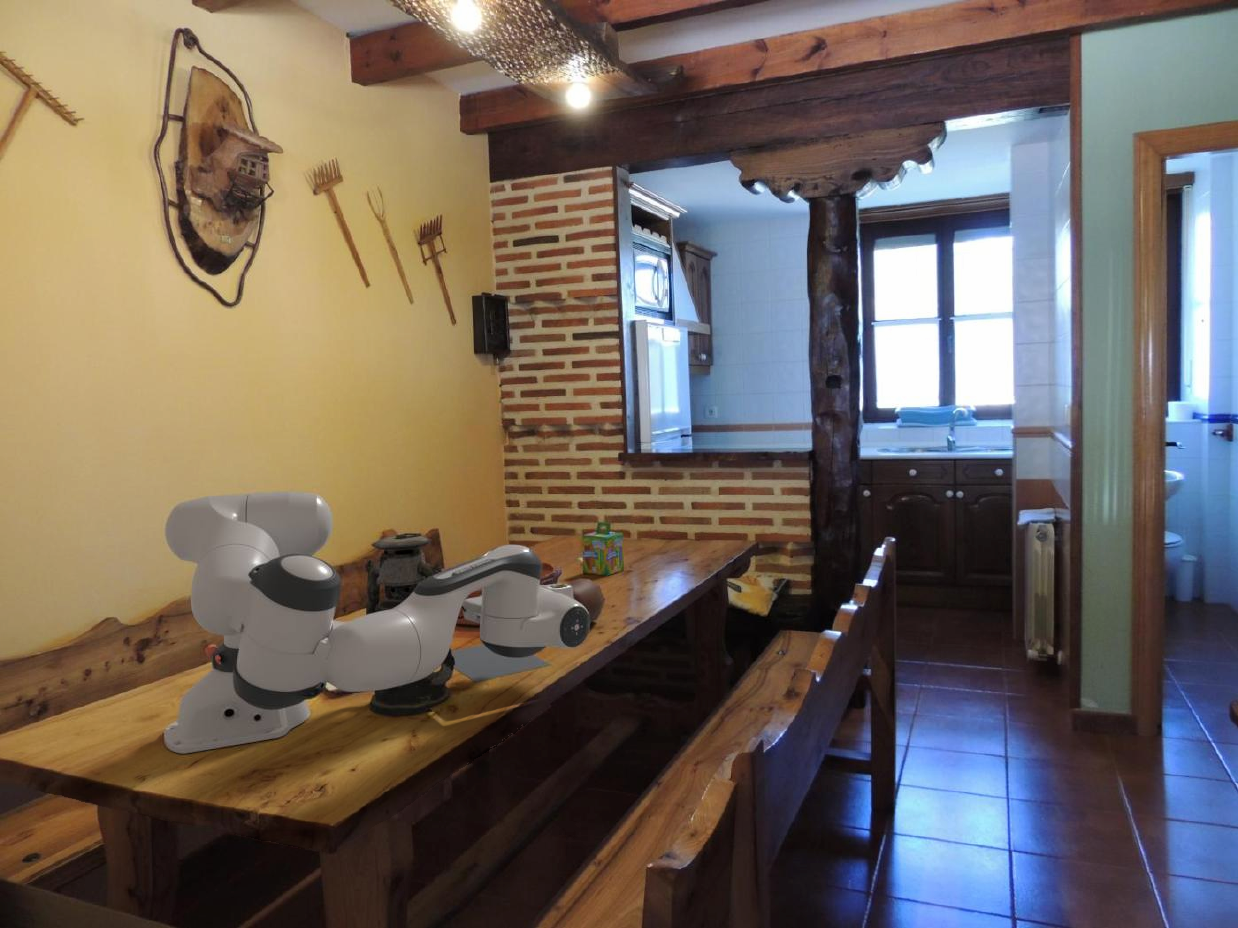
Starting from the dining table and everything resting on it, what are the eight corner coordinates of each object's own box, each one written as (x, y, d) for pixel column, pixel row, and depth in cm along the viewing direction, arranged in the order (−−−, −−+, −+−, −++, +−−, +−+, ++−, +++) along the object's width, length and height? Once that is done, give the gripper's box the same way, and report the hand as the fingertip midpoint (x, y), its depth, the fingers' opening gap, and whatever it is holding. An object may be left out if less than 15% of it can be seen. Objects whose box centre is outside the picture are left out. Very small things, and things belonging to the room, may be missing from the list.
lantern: (340, 710, 153) (329, 540, 151) (405, 675, 171) (396, 523, 168) (432, 721, 146) (422, 543, 144) (489, 684, 164) (481, 525, 162)
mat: (476, 685, 164) (476, 682, 164) (432, 657, 182) (432, 654, 182) (551, 667, 172) (551, 664, 172) (503, 642, 191) (502, 640, 191)
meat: (578, 641, 191) (576, 595, 190) (532, 637, 196) (529, 592, 194) (616, 617, 209) (614, 574, 208) (573, 613, 214) (571, 572, 213)
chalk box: (582, 573, 260) (580, 524, 259) (600, 567, 268) (598, 519, 267) (607, 576, 255) (605, 526, 254) (625, 570, 262) (623, 521, 261)
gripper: (481, 636, 155) (450, 620, 167) (580, 616, 166) (545, 603, 178) (479, 601, 155) (448, 587, 166) (579, 583, 166) (544, 572, 177)
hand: (499, 595), depth 172 cm, fingers closed on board, 5 cm apart
